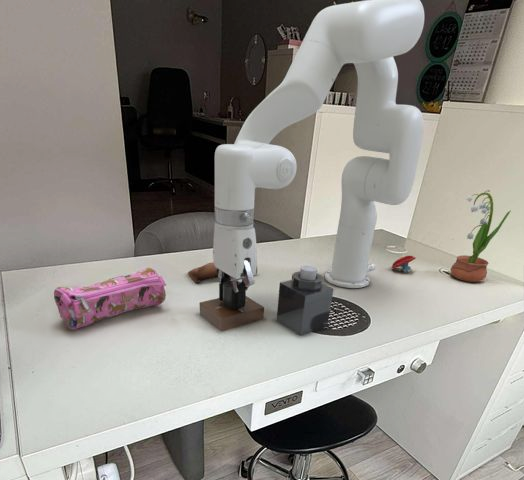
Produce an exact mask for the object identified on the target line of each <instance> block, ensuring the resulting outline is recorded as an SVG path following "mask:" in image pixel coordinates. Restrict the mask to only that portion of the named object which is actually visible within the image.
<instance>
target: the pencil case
mask: <svg viewBox="0 0 524 480" xmlns="http://www.w3.org/2000/svg"><path fill="white" fill-rule="evenodd" d="M121 276H122V277H120V276H116V277H112V278H113V279H112V278H109V279H110V280H109V279H106V280H104V281H101V282H98V283H95V284H92V285H89V286H72V287H67V286H66V287H65V286H57V287H56V288H55V289H53V290H54V291H53V299H54V303H55V305H56V307H57V309H58V313H59V316H60V318H61V320H63V321H64V323H65V324H66V325H67V328H68V329H70V330H73V331H75V330H77V329H79V328H81V329H82V328H84V327H87V326H89V325H92V324H94V323H98V322H100V321H101V320H104V319H108V318H111V317H114V316H117V315H120V314H123V313H126V312H129V311H131V310H133V311H134V310H137V309H142V308H146V307H152V306H159V305H162V304H163V303H164V302H166V296H167V292H166V289H165V286H167V283H166V281H165V280H164V278H163V277H162V275H160V276H159V274H158V272H157V271H156V269H154V268H152V267H147V268H143V269H141V270H138V271H136V272H135V273H134V274H128V275H121Z"/></svg>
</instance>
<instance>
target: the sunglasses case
mask: <svg viewBox="0 0 524 480" xmlns="http://www.w3.org/2000/svg"><path fill="white" fill-rule="evenodd" d="M257 273H258V268H257V269H256V274H257ZM187 275H188V276H189V277H190V278H191V280H192V281H193V282H194V283H195V284H197V283H198V282H204V281H209V280H213V279H218V273H217V271H216V268H215V266H214V264H213V262H208V263H206V264H204V265H202V266H198V267H195V268H193V269H191V270H189V271H188V272H187ZM241 275H242V273H241Z"/></svg>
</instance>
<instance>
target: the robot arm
mask: <svg viewBox="0 0 524 480" xmlns="http://www.w3.org/2000/svg"><path fill="white" fill-rule="evenodd" d="M425 18H426V17H425V9H424V5H423V3H422V2H421V0H360V1H354V2H348V3H339V4H335V5H330V6H326V7H325V8H323V9H322V10H320V11H318V13H317V14H316V16H315V17H314V18H313V19H312V21H311V24H310V25H309V28H308V30H307V31H306V33H305V35H304V37H303V40H302V42H301V44H300V46H299V48H298V50H297V51H296V54H295V56H294V59H293V60H292V62H291V64H290V66H289V68H288V71H287V72H286V74H285V77H284V78H283V80H282V82H281V83H280V84H279V85H277V87H275V88H274V89H273V90H272V91H271V92H270V93H269V94H268V95H267V96H266V97H265V98H264V99H263V100H262V101H261V102H260V103H259V104H257V106H256V107H255V108H254V109H253V110H252V111H251V113H249V115H248V116H247V118H246V119H245V121H244V123H243V124H242V127H241V129H240V131H239V132H238V135H237V136H236V138H235V141H234V143H233V144H232V143H225V144H220V145H217V147H216V149H215V152H214V228H213V230H214V231H213V239H212V263H213V264H214V266H215V268H216V271H217V273H218V278H217V282H218V283H219V284H218V286H219V287H218V290H219V291H218V298H219V300H220V301H223V283H224V282H225V281H233V288H234V291H232V298H231V308H232V309H238V308H242V307H244V306H245V297H246V296H247V295H246V294H247V293H246V292H247V291H248V289H249V287H251V286H253V285H255V283H256V282H255V278H254V277H255V276H256V275H257V273H256V269H257V270H258V266H257V265H258V261H257V260H258V250H257V245H258V244H257V234H256V229H255V227H254V218H255V217H254V215H255V198H256V197H255V196H256V189H257V188H260V189H268V190H269V189H270V190H280V189H283V188H285V187H287V186H289V185H290V184H291V183H292V181H293V180H294V179H295V177H296V173H297V169H298V165H297V159H296V157H295V156H294V154H293V153H292V151H291V150H289V149H288V148H286V147H284V146H281V145H277V144H271V142H272V140H274V138H275V137H276V136H277V135H278V134H279V133H280V132H282V131H283V130H284V129H287V127H290V126H291V125H294V124H295V123H298V122H300V121H303V120H305V119H306V118H308V117H310V116H312V115H314V114H315V113H317V112H318V111H319V110H320V109H321V108H322V106H323V105H324V103H325V100H326V98H327V97H328V94H329V92H330V90H331V88H332V87H333V85H334V82H335V80H336V79H337V77H338V74H339V73H340V71H341V69H342V68H343V66H344V65H346V64H353V66H354V68H355V71H356V77H357V88H356V91H357V92H356V101H355V109H354V117H353V118H354V120H353V128H352V138H353V143H354V145H355V146H356V147H357V148H358V149H361V150H363V151H367V152H368V151H369V152H376V153H383V154H388V155H389V156H388V157H389V159H387V158H382V157H376V156H375V157H374V156H369V155H368V156H367V155H362V156H361V155H360V156H355V157H353V158H352V159H350V160H349V161H348V162H347V163H346V164H345V166H344V168H343V170H342V174H341V203H340V204H341V205H340V212H339V218H338V226H337V231H336V237H335V244H334V250H333V255H332V256H333V257H332V261H331V268H330V269H329V270H327V271H326V272H325V273H324V279H325V281H326V282H328V283H329V284H332V285H334V286H337V287H340V288H346V289H361V288H365V287H367V286H369V284H370V281H371V279H370V277H369V276H368V273H369V272H371V271H374V270H375V269H376V264H375V263H369V257H370V253H371V249H372V244H373V241H374V235H375V230H376V225H377V219H378V215H377V214H378V213H377V209H376V205H375V203H381V204H385V205H389V206H398V205H401V204H403V203H404V202H405V201H406V200H407V199H408V197H409V196H410V194H411V191H412V189H413V185H414V183H415V179H416V178H415V177H416V173H417V168H418V162H419V157H420V154H421V153H420V152H421V148H422V143H423V138H424V129H425V122H424V117H423V113H422V111H421V110H420V109H419V108H418V107H417V106H415V105H412V104H397V102H396V100H397V99H396V98H397V93H398V92H397V91H398V83H399V72H398V71H399V70H398V67H397V63H396V61H395V58H394V57H397V56H401V55H404V54H406V53H409V51H410V50H412V49H413V48H414V47H415V45H417V43H418V41H419V39H420V38H421V35H422V33H423V30H424V26H425ZM241 273H242V274H241ZM240 280H241V281H240ZM239 281H240V284H239V285H238V282H239Z"/></svg>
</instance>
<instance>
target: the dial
mask: <svg viewBox="0 0 524 480" xmlns="http://www.w3.org/2000/svg"><path fill="white" fill-rule="evenodd" d="M240 283H241V281H238V285H239V284H240ZM232 291H234V288H233V280H231V281H225V282H224V283H223V306H225V307H227V308H231V298H232Z"/></svg>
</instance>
